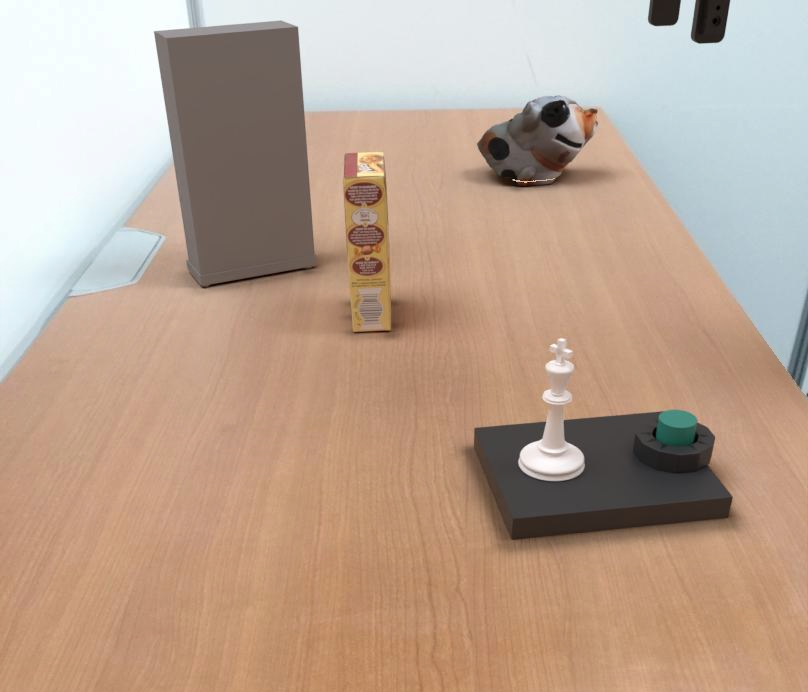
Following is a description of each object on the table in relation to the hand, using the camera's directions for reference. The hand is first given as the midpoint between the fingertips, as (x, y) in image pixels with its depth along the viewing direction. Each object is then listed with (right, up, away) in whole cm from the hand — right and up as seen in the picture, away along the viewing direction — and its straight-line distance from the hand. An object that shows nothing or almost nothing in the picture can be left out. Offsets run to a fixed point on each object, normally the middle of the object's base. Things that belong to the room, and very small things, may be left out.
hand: (683, 33), depth 70 cm
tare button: (0, -30, +1) cm, 30 cm away
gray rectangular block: (-38, -6, +41) cm, 56 cm away
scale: (-6, -33, +3) cm, 34 cm away
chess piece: (-10, -32, +1) cm, 33 cm away
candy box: (-24, -14, +29) cm, 41 cm away
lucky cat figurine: (-1, +16, +71) cm, 72 cm away
